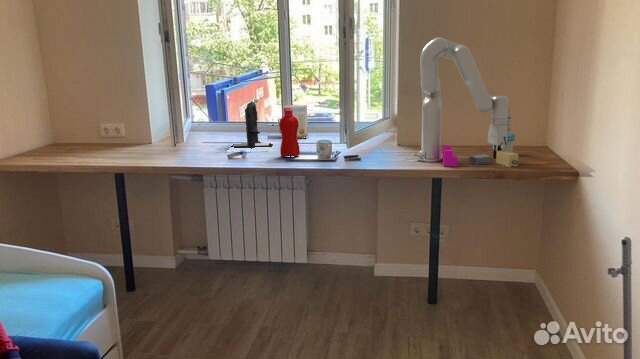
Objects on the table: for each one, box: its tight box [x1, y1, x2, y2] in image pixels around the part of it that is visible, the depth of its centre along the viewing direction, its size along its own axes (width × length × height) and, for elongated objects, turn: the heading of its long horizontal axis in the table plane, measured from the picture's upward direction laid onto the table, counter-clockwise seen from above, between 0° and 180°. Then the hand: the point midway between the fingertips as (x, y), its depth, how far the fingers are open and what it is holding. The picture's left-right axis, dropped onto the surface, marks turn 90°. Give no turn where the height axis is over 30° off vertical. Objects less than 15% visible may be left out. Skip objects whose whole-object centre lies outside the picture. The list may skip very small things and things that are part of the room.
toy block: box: [441, 144, 459, 168], centre depth 263 cm, size 15×6×8 cm, turn 170°
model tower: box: [502, 102, 516, 152], centre depth 276 cm, size 10×10×30 cm
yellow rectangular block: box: [495, 150, 519, 168], centre depth 257 cm, size 5×12×6 cm, turn 18°
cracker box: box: [283, 104, 309, 138], centre depth 339 cm, size 14×6×21 cm, turn 82°
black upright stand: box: [230, 98, 274, 153], centre depth 315 cm, size 32×25×28 cm
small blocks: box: [468, 154, 493, 166], centre depth 265 cm, size 20×6×3 cm, turn 107°
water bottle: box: [279, 110, 301, 158], centre depth 286 cm, size 9×11×25 cm
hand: (496, 158), depth 266 cm, fingers closed
